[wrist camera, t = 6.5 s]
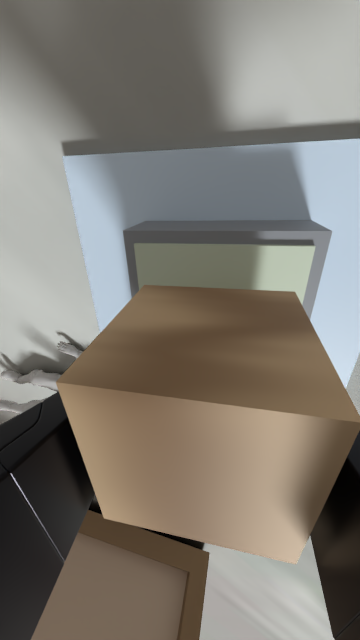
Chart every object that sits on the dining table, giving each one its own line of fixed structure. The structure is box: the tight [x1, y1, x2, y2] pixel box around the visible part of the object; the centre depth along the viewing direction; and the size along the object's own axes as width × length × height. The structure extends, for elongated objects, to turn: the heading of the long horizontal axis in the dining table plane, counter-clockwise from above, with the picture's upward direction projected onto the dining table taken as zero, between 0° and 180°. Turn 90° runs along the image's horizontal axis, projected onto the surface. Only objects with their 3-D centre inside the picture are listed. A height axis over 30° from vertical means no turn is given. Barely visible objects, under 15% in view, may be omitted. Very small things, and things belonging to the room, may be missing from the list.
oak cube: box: [56, 285, 360, 564], centre depth 7 cm, size 5×5×5 cm
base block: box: [123, 220, 332, 320], centre depth 13 cm, size 8×8×3 cm
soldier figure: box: [0, 341, 83, 414], centre depth 19 cm, size 8×5×12 cm
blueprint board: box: [62, 139, 360, 389], centre depth 14 cm, size 16×14×1 cm
